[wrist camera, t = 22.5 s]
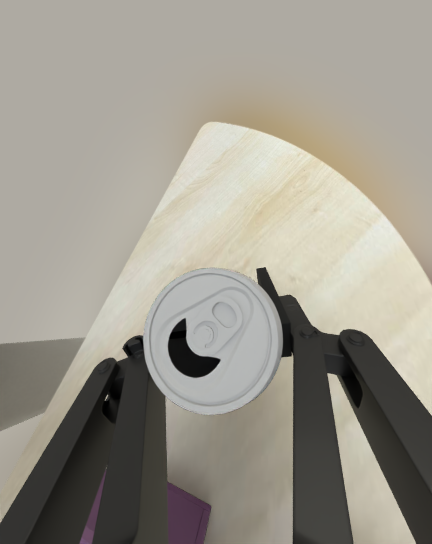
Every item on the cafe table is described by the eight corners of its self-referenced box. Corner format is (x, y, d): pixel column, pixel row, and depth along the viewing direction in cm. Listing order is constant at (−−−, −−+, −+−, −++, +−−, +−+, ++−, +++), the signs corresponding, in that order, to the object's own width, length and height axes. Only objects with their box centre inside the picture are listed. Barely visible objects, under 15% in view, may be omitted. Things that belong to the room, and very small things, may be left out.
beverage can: (191, 327, 19) (106, 331, 8) (232, 285, 20) (208, 232, 8) (233, 376, 17) (200, 478, 6) (278, 328, 18) (328, 336, 6)
